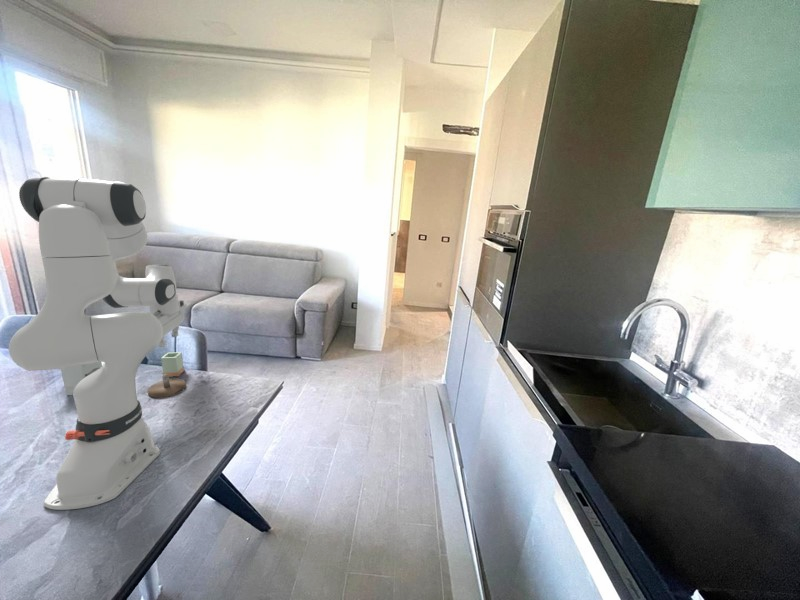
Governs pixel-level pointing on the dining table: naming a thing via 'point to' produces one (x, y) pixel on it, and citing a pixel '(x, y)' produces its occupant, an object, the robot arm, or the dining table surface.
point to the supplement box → (77, 375)
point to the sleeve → (172, 364)
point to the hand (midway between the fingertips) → (169, 341)
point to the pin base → (166, 387)
